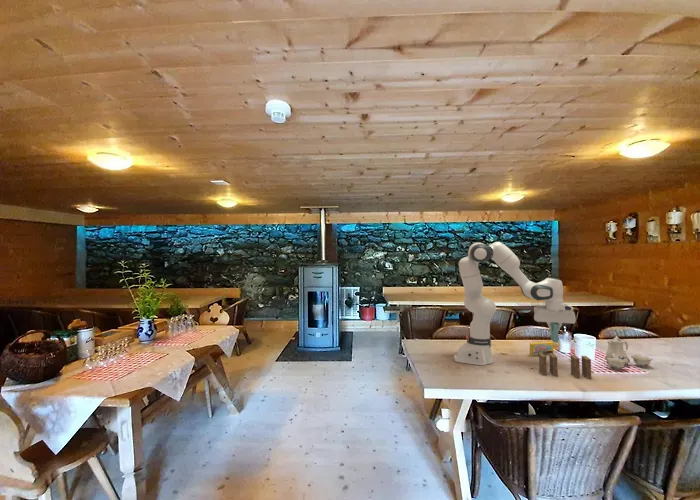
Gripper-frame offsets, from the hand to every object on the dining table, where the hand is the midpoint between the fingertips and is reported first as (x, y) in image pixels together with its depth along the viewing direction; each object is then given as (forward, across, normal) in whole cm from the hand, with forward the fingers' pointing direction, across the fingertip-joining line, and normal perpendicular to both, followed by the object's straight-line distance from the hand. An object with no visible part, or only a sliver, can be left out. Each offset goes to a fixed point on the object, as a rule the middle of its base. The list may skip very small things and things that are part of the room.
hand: (554, 330), depth 182 cm
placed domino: (+6, 0, 0) cm, 6 cm away
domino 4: (+20, +10, -14) cm, 27 cm away
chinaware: (+20, +37, +10) cm, 43 cm away
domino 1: (+21, -10, -14) cm, 27 cm away
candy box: (+21, -2, +20) cm, 29 cm away
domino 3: (+20, +5, -14) cm, 25 cm away
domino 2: (+21, -4, -14) cm, 25 cm away
